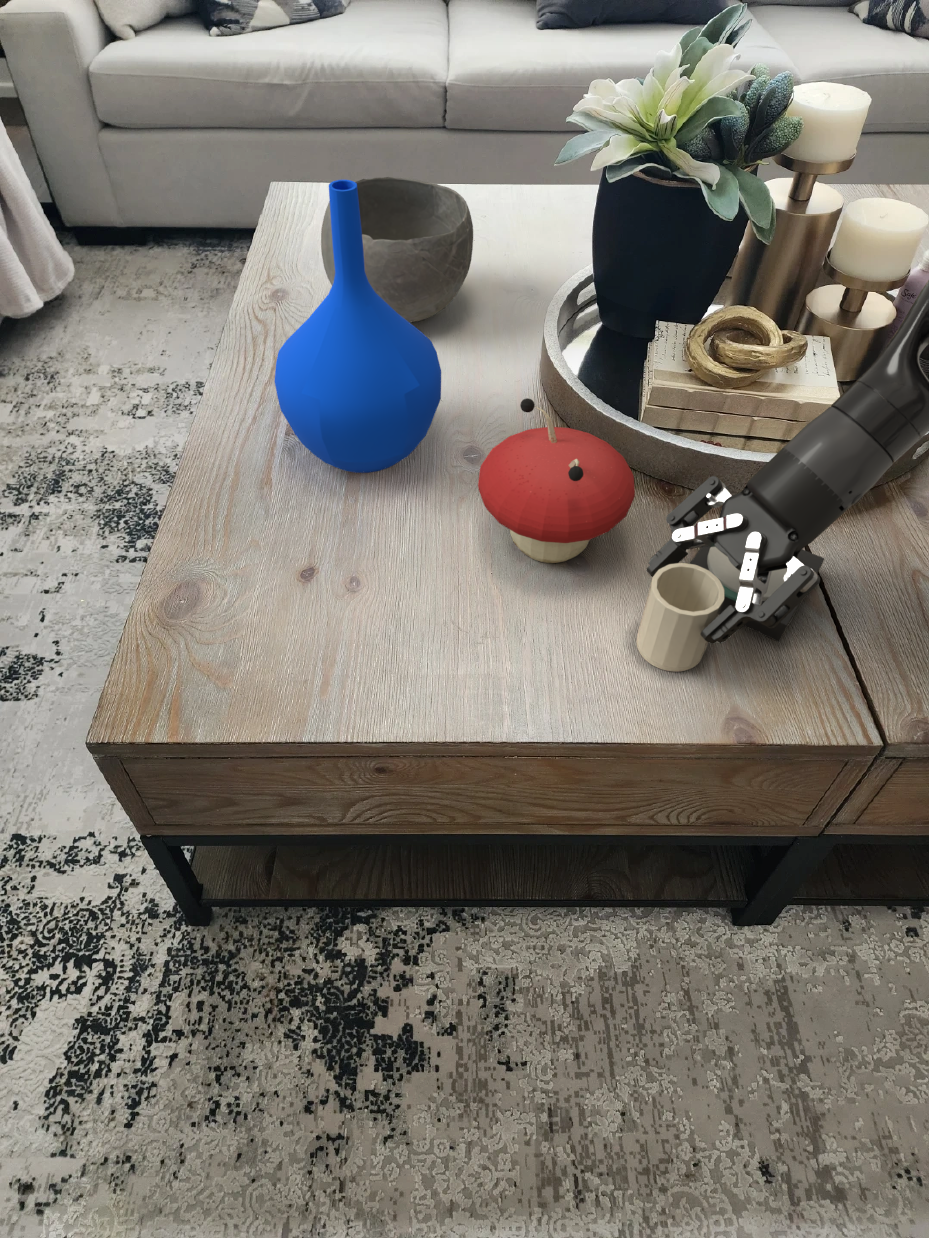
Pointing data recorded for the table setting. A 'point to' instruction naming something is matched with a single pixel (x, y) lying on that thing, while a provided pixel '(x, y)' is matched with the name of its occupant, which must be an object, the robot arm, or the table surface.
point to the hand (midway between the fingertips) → (678, 606)
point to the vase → (357, 364)
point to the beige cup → (678, 616)
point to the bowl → (410, 243)
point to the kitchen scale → (730, 582)
